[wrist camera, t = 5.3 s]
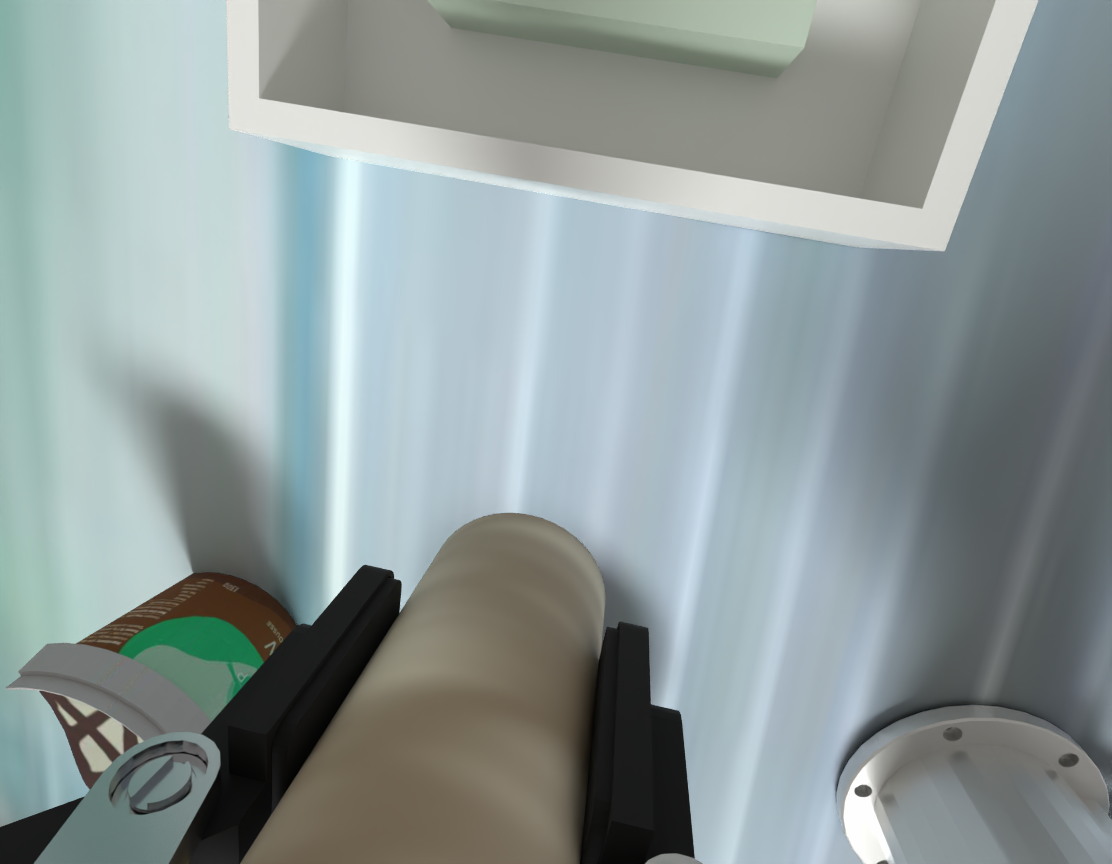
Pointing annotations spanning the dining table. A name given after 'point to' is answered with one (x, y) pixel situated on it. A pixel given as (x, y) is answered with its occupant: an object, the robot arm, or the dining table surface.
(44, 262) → the dining table surface
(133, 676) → the food container
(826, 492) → the dining table surface
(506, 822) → the peg
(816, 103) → the box
